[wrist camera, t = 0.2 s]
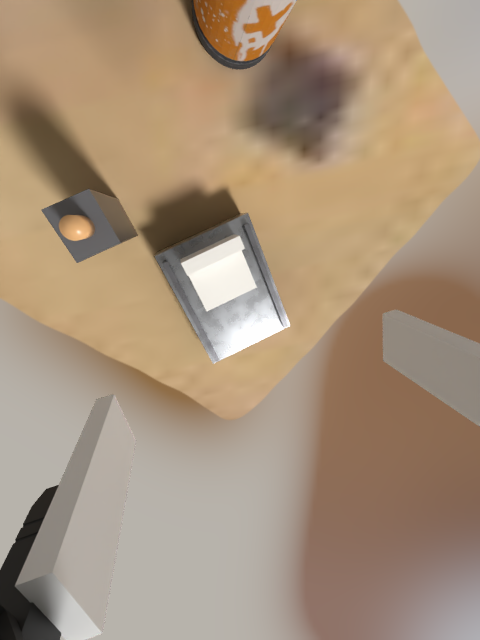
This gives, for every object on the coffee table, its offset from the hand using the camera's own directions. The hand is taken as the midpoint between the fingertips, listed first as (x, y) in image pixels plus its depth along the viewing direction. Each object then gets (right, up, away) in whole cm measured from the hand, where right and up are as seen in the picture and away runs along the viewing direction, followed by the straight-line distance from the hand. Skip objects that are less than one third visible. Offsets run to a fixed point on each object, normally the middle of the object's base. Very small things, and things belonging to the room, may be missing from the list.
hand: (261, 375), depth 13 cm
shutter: (-4, +8, +21) cm, 23 cm away
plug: (-16, +14, +20) cm, 30 cm away
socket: (-4, +8, +25) cm, 27 cm away
